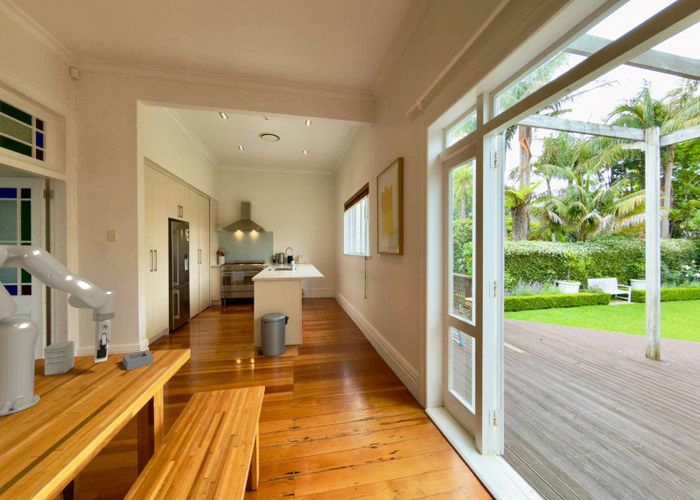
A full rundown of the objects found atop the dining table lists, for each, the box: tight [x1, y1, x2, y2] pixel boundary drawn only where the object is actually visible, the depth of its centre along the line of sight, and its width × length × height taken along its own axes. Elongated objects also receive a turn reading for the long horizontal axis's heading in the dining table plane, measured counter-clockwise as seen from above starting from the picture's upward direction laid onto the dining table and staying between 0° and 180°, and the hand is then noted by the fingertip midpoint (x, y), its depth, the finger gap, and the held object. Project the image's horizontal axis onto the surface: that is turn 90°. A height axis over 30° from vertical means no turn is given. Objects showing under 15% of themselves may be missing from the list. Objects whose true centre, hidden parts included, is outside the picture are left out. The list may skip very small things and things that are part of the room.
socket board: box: [121, 349, 154, 371], centre depth 132 cm, size 12×10×4 cm
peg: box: [93, 340, 109, 364], centre depth 121 cm, size 4×4×9 cm
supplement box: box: [44, 340, 75, 376], centre depth 122 cm, size 7×7×13 cm
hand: (100, 356), depth 121 cm, fingers closed on peg, 4 cm apart
